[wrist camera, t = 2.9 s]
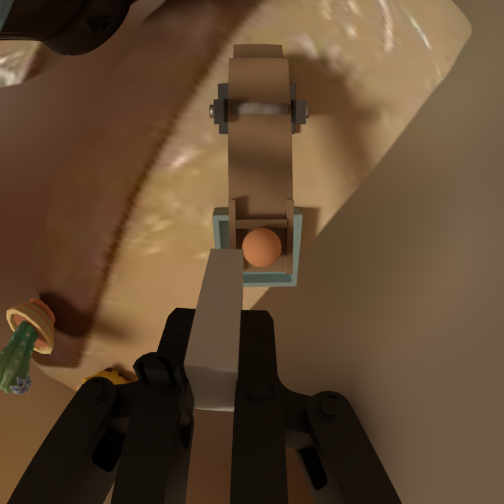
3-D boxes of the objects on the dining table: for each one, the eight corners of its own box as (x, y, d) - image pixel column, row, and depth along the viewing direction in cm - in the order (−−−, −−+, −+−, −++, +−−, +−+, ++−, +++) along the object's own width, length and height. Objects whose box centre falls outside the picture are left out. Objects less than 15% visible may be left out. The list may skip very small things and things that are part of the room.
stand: (218, 84, 31) (204, 77, 21) (294, 84, 31) (314, 77, 21) (220, 133, 35) (206, 148, 24) (293, 133, 35) (312, 148, 24)
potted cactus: (51, 337, 59) (17, 407, 37) (14, 299, 52) (-30, 365, 30) (75, 324, 55) (34, 407, 34) (32, 278, 48) (-23, 356, 27)
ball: (242, 222, 26) (241, 238, 22) (280, 222, 26) (284, 237, 22) (243, 255, 27) (242, 274, 24) (278, 255, 27) (282, 274, 24)
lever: (231, 56, 26) (228, 34, 21) (282, 56, 26) (288, 35, 21) (233, 262, 31) (229, 275, 26) (286, 261, 31) (293, 274, 26)
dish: (214, 207, 40) (212, 215, 38) (299, 207, 40) (302, 214, 38) (220, 276, 47) (218, 287, 45) (293, 275, 47) (296, 285, 45)
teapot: (140, 374, 64) (130, 408, 55) (137, 394, 71) (129, 424, 61) (92, 355, 61) (78, 387, 52) (94, 378, 68) (84, 406, 58)
